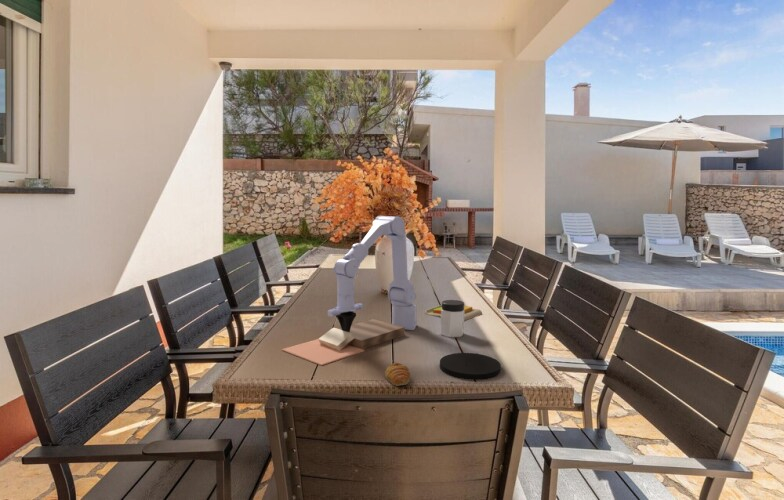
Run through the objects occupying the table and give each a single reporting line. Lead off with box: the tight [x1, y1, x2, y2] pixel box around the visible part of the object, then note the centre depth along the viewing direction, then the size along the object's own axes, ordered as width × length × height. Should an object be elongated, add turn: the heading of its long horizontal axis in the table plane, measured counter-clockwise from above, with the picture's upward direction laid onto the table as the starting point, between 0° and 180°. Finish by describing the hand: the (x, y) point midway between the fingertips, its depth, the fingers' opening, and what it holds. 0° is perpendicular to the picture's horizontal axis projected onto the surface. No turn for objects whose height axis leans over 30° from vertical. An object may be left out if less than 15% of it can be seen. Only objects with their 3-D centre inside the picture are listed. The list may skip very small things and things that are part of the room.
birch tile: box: [318, 327, 354, 350], centre depth 159 cm, size 7×10×2 cm
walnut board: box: [337, 318, 406, 350], centre depth 169 cm, size 22×16×3 cm
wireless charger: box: [439, 352, 502, 381], centre depth 141 cm, size 18×18×2 cm
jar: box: [440, 299, 465, 338], centre depth 174 cm, size 9×8×12 cm
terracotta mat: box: [281, 338, 365, 366], centre depth 154 cm, size 18×20×1 cm
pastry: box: [384, 362, 411, 387], centre depth 131 cm, size 9×7×4 cm
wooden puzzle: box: [424, 304, 483, 322], centre depth 204 cm, size 18×19×4 cm
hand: (345, 333), depth 161 cm, fingers closed
